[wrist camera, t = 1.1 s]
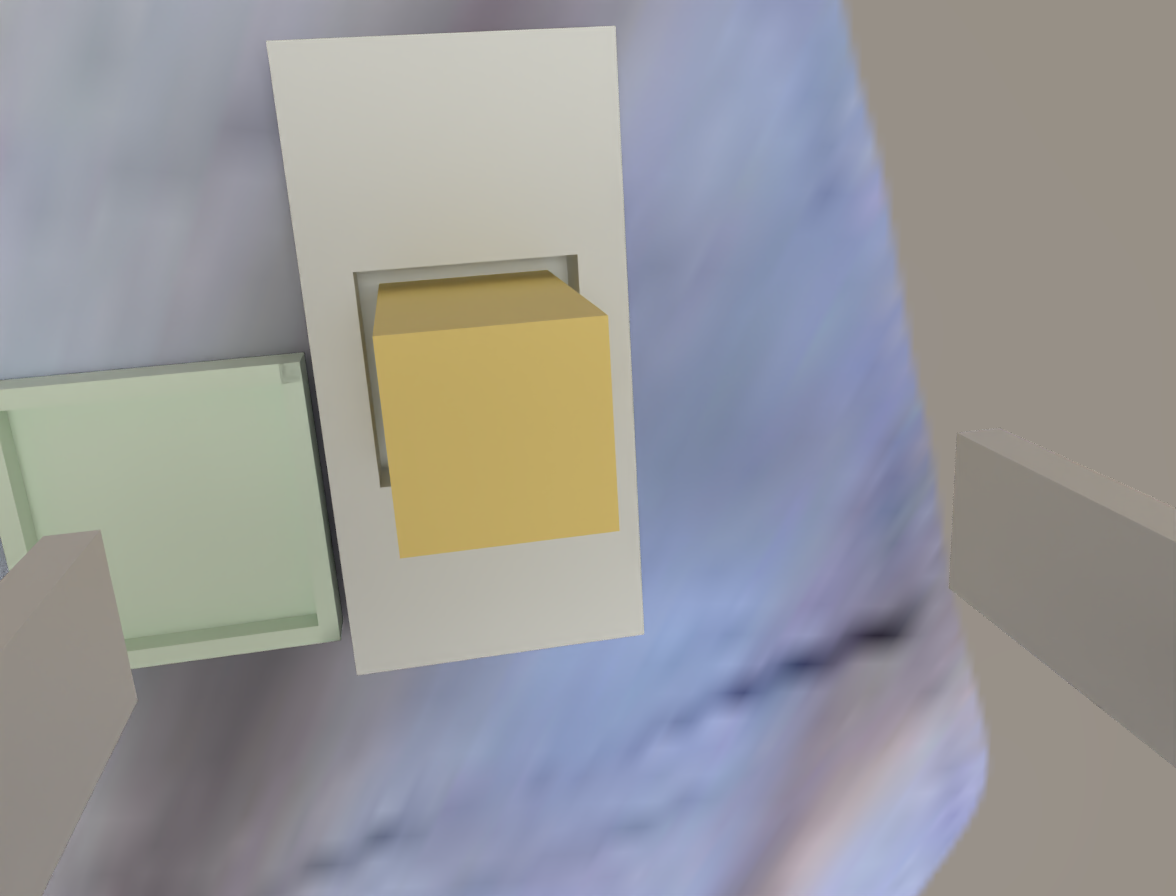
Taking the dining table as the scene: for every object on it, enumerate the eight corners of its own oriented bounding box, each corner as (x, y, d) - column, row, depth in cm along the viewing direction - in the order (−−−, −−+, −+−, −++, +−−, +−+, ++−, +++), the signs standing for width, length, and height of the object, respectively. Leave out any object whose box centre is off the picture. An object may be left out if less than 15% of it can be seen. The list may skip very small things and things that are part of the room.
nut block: (398, 446, 31) (399, 558, 22) (379, 283, 29) (372, 336, 21) (558, 429, 31) (619, 530, 23) (547, 269, 30) (607, 315, 21)
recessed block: (360, 631, 33) (357, 675, 30) (279, 52, 28) (266, 40, 25) (623, 594, 34) (644, 634, 32) (594, 38, 29) (615, 25, 26)
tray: (52, 658, 31) (37, 682, 30) (-15, 381, 29) (-36, 393, 27) (342, 619, 33) (340, 640, 31) (303, 352, 30) (299, 361, 29)
